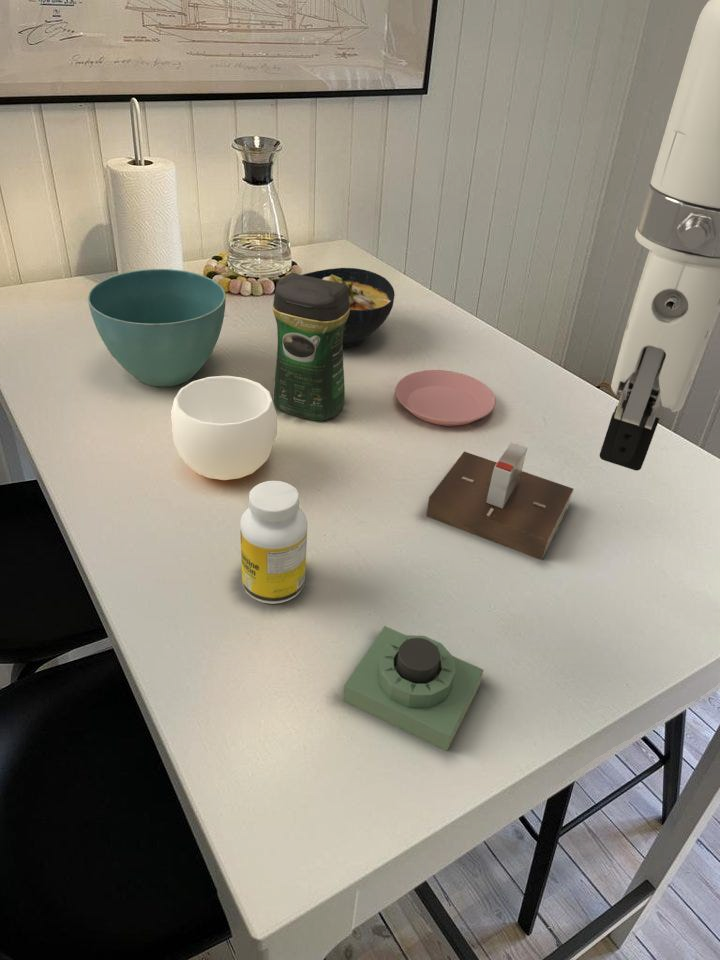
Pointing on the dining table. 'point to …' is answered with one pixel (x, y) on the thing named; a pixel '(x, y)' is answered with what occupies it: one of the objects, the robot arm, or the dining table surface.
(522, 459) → the red-tipped white block
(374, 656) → the switch block
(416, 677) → the button
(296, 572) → the pill bottle
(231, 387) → the cup
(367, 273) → the bowl
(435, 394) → the plate
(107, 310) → the teal mixing bowl
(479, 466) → the brown dial block
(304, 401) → the coffee jar
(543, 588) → the dining table surface
